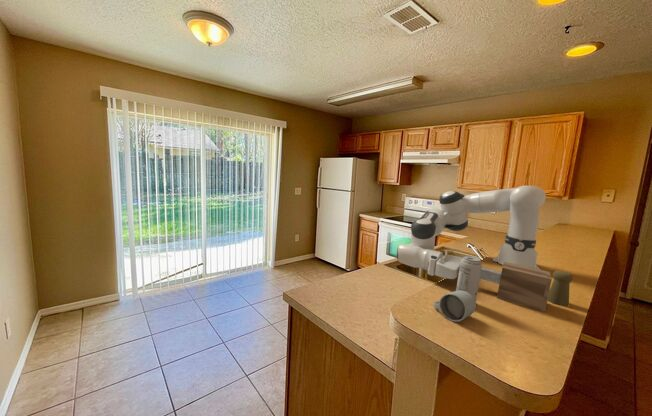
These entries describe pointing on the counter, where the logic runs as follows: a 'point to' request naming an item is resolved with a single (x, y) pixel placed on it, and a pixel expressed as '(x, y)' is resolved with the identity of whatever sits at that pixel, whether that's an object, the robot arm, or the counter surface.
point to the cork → (560, 288)
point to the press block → (524, 286)
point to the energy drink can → (469, 275)
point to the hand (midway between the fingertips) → (474, 271)
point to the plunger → (490, 275)
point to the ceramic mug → (456, 305)
